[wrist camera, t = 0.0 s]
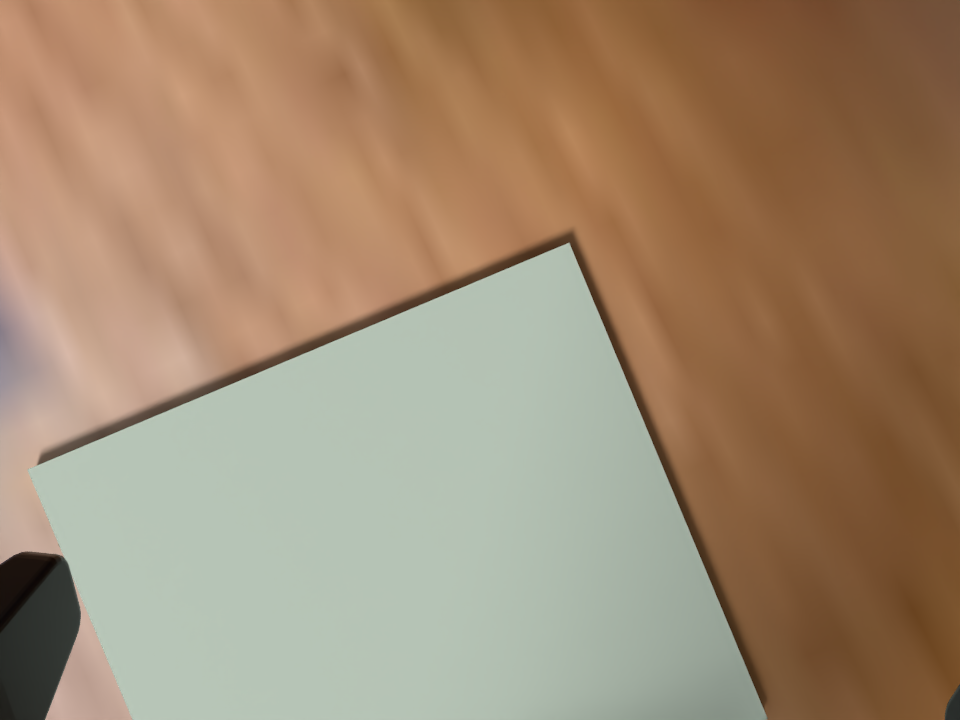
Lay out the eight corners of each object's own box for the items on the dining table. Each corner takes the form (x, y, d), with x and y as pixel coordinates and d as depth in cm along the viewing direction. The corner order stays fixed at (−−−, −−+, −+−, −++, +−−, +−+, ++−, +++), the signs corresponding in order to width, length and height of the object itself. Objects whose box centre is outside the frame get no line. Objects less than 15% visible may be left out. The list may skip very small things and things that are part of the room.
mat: (762, 712, 23) (767, 718, 23) (230, 931, 23) (226, 941, 23) (567, 244, 23) (569, 242, 23) (35, 467, 23) (27, 469, 23)
